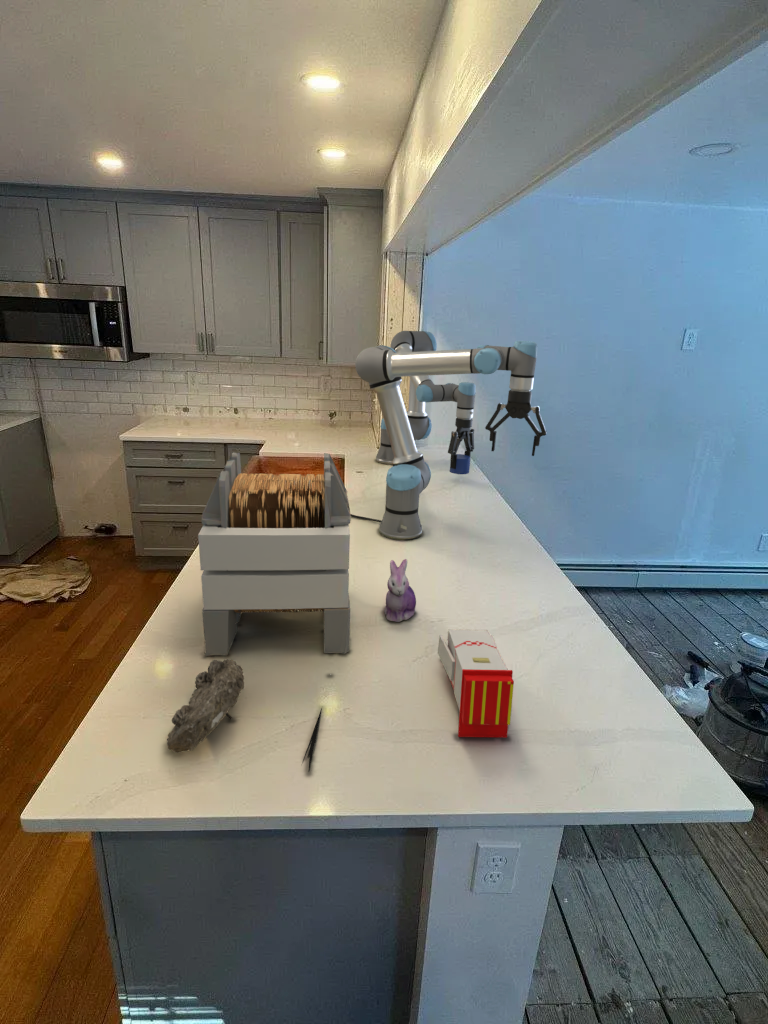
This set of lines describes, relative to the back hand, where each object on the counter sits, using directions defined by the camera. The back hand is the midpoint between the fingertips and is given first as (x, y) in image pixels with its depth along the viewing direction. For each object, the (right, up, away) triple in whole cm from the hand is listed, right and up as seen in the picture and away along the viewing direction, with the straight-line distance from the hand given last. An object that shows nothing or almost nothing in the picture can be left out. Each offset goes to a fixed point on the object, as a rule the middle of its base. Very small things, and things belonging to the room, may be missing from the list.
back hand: (459, 466), depth 261 cm
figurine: (-31, -48, -114) cm, 127 cm away
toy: (-17, -59, -143) cm, 155 cm away
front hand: (+9, -1, -67) cm, 68 cm away
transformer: (-61, -48, -118) cm, 141 cm away
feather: (-47, -61, -153) cm, 171 cm away
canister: (0, -2, +1) cm, 2 cm away
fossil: (-68, -60, -153) cm, 178 cm away
